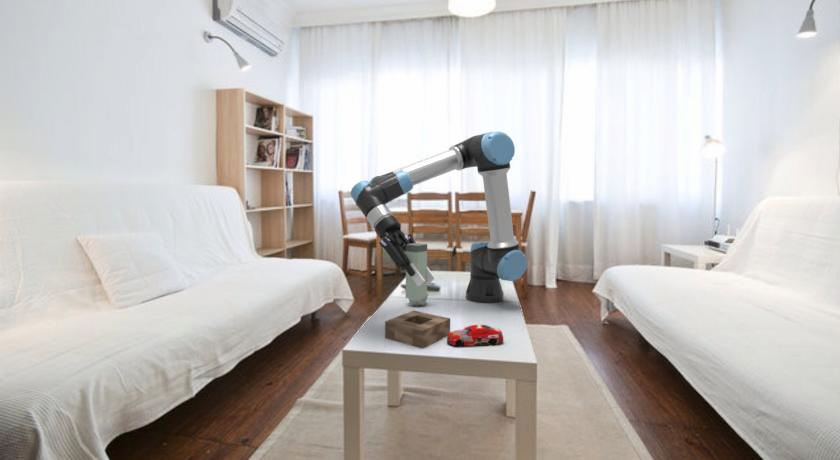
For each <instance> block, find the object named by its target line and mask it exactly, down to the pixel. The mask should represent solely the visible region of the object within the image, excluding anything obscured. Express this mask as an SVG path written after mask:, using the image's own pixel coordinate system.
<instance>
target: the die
mask: <svg viewBox="0 0 840 460" xmlns="http://www.w3.org/2000/svg"><path fill="white" fill-rule="evenodd" d="M428 296H429V292H428V290H427V297H426V298H423V299H420V300H414V299H408V302H409V304H410V306H411V307H413V306H416V307H418V306H421V307H423V306H425V304H426V302H427V301H428V300H427V299H428Z"/></svg>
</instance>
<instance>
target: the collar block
mask: <svg viewBox="0 0 840 460" xmlns="http://www.w3.org/2000/svg"><path fill="white" fill-rule="evenodd" d="M450 332H451V317H447V316H441V315H437V314H432V313H427V312H424V311H423V312H422V311H419V310H411V311H408V312H406V313H403V314H400V315H398V316H395V317H392V318H389V319H387V320H385V321H384V338H385V339H389V340H392V341H396V342H400V343H403V344H407V345H410V346H414V347H418V348H422V349H424V348H426V347H428V346H430V345H432V344H434V343H436V342H438V341H439V340H442V339H444V338H447V336H448V334H449V333H450Z"/></svg>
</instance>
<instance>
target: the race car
mask: <svg viewBox="0 0 840 460" xmlns="http://www.w3.org/2000/svg"><path fill="white" fill-rule="evenodd" d="M446 341H447V343H448V344H449V345H452V346H456V347H457V348H463V347H467V346H468V347H470V346H487V345H489V346H490V345H492V346H496V345H500V344H501V343H503V342H504V335H503V332H502V330H501V329H499V327H498V328H497V327H494V326H490V325H487V324H471V325H469V326H468V325H467V326H465V327H464V328H463V329H458V330H454V331H450V333H449V334H448V336H446Z"/></svg>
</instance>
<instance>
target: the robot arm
mask: <svg viewBox="0 0 840 460" xmlns="http://www.w3.org/2000/svg"><path fill="white" fill-rule="evenodd" d="M515 150H516V147H515V143H514V142H513V140H512V138H511V136H509V135H508V134H507V133H506V132H502V131H498V130H497V131H489V132H486V133H485V132H484V133H482V134H477V135H473V136H471V137H469V138H467V139H465V140H463V141H460V142H459V143H457V144H455V145H451V146H450V147H449V148H448V150H446V151H443V152H440V153H438V154H435V155H432V156H430V157H429V156H428V157H427V158H425V159H421V160H419V161H416V162H414V163H411V164H408V165H406V166H403V167H400V168H398V169H395V170H393V171H390V172H387V173H384V174H382V175H377V176H374V177H373V178H371V180H370V181H368V180H361V181H359V182H357V183H356V184H354V185H353V187H352V188H351V190H350V196H351V199H352V200H353V202H354V203H355V206H357V207H358V209H359V210H360V212H361V213H362V214H363V215H364V217H365V219H366V220H367V222H368V223H369V225H370V226H371V227H372V229H374V232H375V233H376V235H377V236H378V237H379V238H380V239H381V240H380V241H379V242H378V244H379V245H380V246H381V248H383V249H384V250H385V252H386V254H387V255H388V256H389V257H390V259H391V260H392V262H393V263H394V264H395V265H396V267H397V268H398V269H400V270H401V271H405V272H406V271H407V272H408V274H409V275H410V276H411V277H412V279H413V280H414V281H415V283H416V284H417V286H418V287H419V286H420V285H421V284H422V283H423V282H424V281H425V280H424V278H423V277H422V276H421V274H420V273H419V271H418V270H417V269H416V267H415V266H414V264H413V263H411V264H410V262H409V260H408V258H407V256H406V244H412V243H417V242H416V240H415V239H414V237H413V234H411V233H408V235H407V234H405V232H403V231H402V230H401V223H400V222H399V221H398V219H397V217H395V216H394V214H393V212H392V211H391V210H390V209H389V206H387V204H388V203H390V202H392V201H394V200H396V199H398V198H400V197H401V196H402V197H403V195H406V194H408V193H409V192H411V191H413V188H414V186H415V185H419V184H421V183H424V182H426V181H429V180H431V179H434V178H437V177H440V176H442V175H444V174H446V173H450V172H452V171H454V170H456V171H463V170H464V169H468V168H477V174H479V175H480V176H481V177H482V182H483V190H484V197H485V206H486V207H485V208H486V213H487V223H488V230H489V239H490V241H483V242H482V241H480V242H472V244H471V245H470V251H469V252H470V279H469V282H468V285H467V288H466V290H465V299H467V300H469V301H471V302H477V303H485V304H486V303H490V304H491V303H499V302H501V301H504V291H503V287H502V284H501V281H500V280H502V281H508V282H513V281H517V280H519V279H520V278H521V277H522V276H523V275H524V273H525V272H526V271H527V266H528V259H527V256H526V254H525V253H524V252H523V251H521V249H520V242H519V240H517V239H516V238H515V233H514V226H513V219H512V217H513V215H512V208H511V207H512V206H511V199H510V191H509V190H510V189H509V182H508V175H507V174H508V172H509V170H510V169H511V163H510V162H511V161H512V160H513V157H514V156H515ZM435 279H436V276H435V275H434V274H433V272H432V271H431V269H430V267H428V265H427V284H431V283H432V282H433V281H434V280H435Z"/></svg>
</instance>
